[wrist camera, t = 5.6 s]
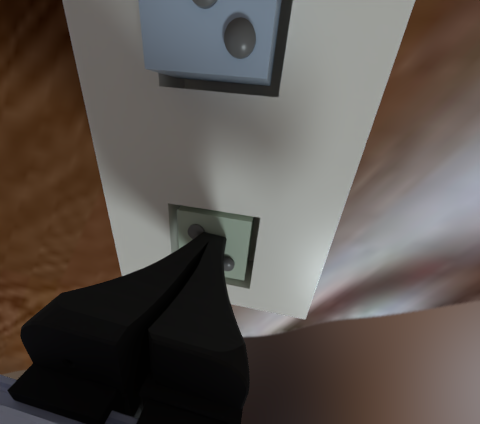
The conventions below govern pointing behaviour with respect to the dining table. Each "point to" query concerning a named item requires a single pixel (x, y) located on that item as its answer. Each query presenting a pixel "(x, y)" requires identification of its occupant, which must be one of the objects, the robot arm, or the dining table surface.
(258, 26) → the button three
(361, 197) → the dining table surface
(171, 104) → the button panel
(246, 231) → the button two
